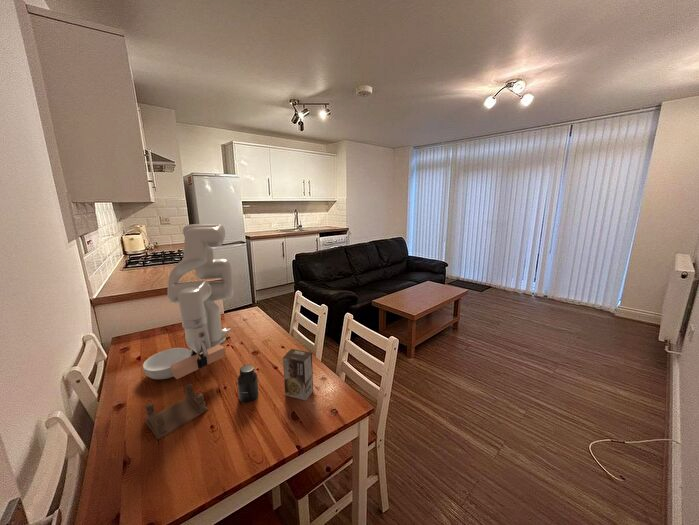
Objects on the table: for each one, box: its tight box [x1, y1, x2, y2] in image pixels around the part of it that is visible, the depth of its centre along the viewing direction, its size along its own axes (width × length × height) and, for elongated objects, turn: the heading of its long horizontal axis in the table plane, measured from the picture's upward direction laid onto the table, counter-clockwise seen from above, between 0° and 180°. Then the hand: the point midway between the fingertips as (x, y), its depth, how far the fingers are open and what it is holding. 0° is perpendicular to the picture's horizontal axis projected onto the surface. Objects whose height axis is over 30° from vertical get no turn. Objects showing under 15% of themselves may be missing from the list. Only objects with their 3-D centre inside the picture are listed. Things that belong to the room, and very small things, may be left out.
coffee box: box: [282, 348, 314, 401], centre depth 101 cm, size 9×6×16 cm
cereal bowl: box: [142, 347, 191, 380], centre depth 114 cm, size 17×17×7 cm
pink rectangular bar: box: [171, 344, 226, 380], centre depth 104 cm, size 18×4×4 cm, turn 142°
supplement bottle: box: [237, 364, 259, 404], centre depth 100 cm, size 7×7×12 cm
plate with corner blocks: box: [144, 383, 209, 440], centre depth 91 cm, size 15×11×6 cm
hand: (199, 363), depth 104 cm, fingers closed on pink rectangular bar, 4 cm apart
